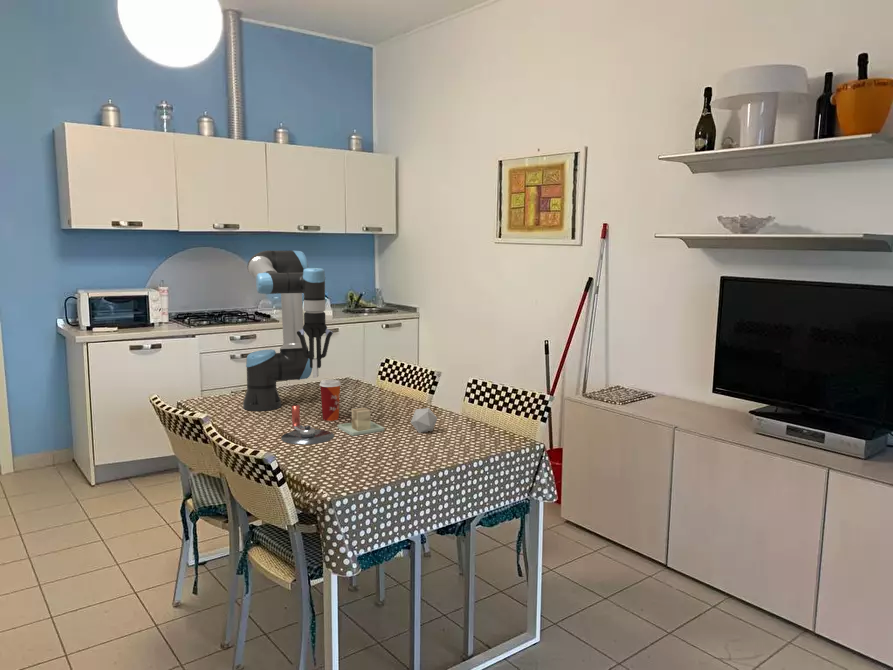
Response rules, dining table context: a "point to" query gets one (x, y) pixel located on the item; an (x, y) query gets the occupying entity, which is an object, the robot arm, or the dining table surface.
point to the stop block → (361, 419)
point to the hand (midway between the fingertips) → (315, 376)
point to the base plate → (296, 438)
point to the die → (423, 420)
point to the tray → (348, 429)
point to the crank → (297, 425)
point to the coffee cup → (330, 399)
